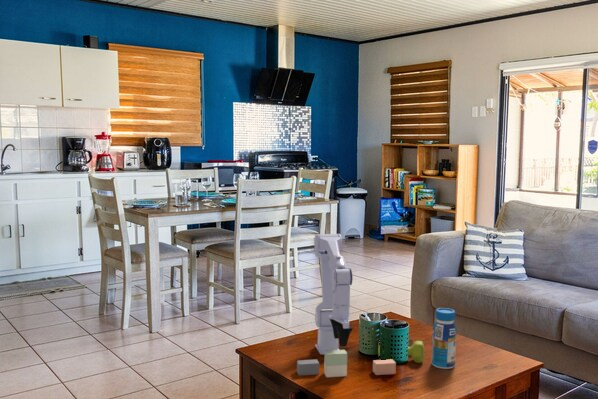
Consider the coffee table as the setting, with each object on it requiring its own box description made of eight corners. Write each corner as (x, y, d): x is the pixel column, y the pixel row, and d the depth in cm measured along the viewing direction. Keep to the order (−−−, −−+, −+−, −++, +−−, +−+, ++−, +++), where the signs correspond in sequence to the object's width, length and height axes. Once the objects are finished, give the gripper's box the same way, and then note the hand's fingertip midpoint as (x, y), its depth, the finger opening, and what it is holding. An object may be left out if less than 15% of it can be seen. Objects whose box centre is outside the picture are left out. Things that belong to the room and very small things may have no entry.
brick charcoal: (296, 371, 203) (297, 360, 202) (316, 370, 204) (316, 359, 203) (298, 375, 199) (298, 364, 199) (319, 374, 200) (319, 363, 200)
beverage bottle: (428, 360, 214) (430, 306, 212) (450, 360, 214) (453, 306, 212) (435, 369, 205) (437, 314, 203) (458, 369, 206) (461, 313, 204)
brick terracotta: (372, 371, 204) (373, 360, 203) (392, 370, 205) (392, 359, 205) (375, 375, 200) (376, 364, 200) (395, 374, 202) (395, 363, 201)
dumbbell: (377, 361, 213) (377, 342, 212) (378, 353, 220) (379, 335, 219) (423, 366, 209) (424, 346, 208) (423, 357, 217) (424, 338, 216)
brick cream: (324, 373, 201) (324, 362, 201) (343, 372, 203) (344, 360, 202) (326, 377, 198) (326, 366, 197) (346, 376, 199) (347, 364, 199)
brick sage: (324, 362, 201) (324, 350, 200) (344, 360, 202) (344, 349, 202) (326, 366, 197) (327, 354, 197) (347, 364, 199) (347, 353, 198)
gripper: (324, 297, 207) (324, 335, 209) (334, 310, 193) (333, 350, 194) (344, 297, 208) (343, 334, 210) (355, 309, 194) (354, 349, 196)
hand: (340, 342), depth 202 cm, fingers open, 7 cm apart
